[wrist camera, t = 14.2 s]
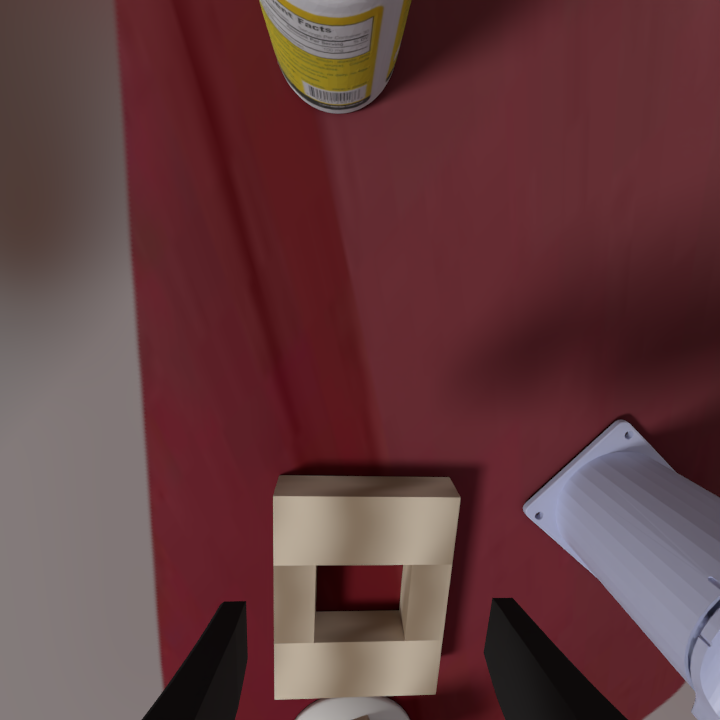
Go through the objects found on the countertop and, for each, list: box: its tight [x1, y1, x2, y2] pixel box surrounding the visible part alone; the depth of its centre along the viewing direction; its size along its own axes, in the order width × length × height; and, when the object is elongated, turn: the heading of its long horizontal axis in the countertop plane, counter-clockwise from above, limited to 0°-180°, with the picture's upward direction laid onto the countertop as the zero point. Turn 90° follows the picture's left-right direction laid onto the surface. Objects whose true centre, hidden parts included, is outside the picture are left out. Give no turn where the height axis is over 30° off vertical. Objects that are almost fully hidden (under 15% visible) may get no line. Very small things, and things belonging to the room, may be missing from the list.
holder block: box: [273, 475, 461, 700], centre depth 21 cm, size 10×14×2 cm
